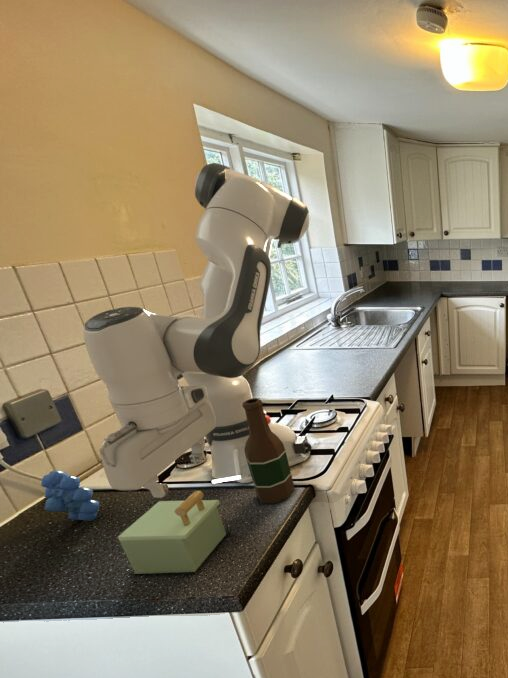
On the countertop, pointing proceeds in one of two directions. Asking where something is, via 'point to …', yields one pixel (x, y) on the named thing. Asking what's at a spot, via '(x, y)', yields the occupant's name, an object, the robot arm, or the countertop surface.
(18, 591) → the countertop surface
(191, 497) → the box lid
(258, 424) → the beer bottle
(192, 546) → the container
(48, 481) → the grapes
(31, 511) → the countertop surface
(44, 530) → the countertop surface
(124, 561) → the countertop surface
